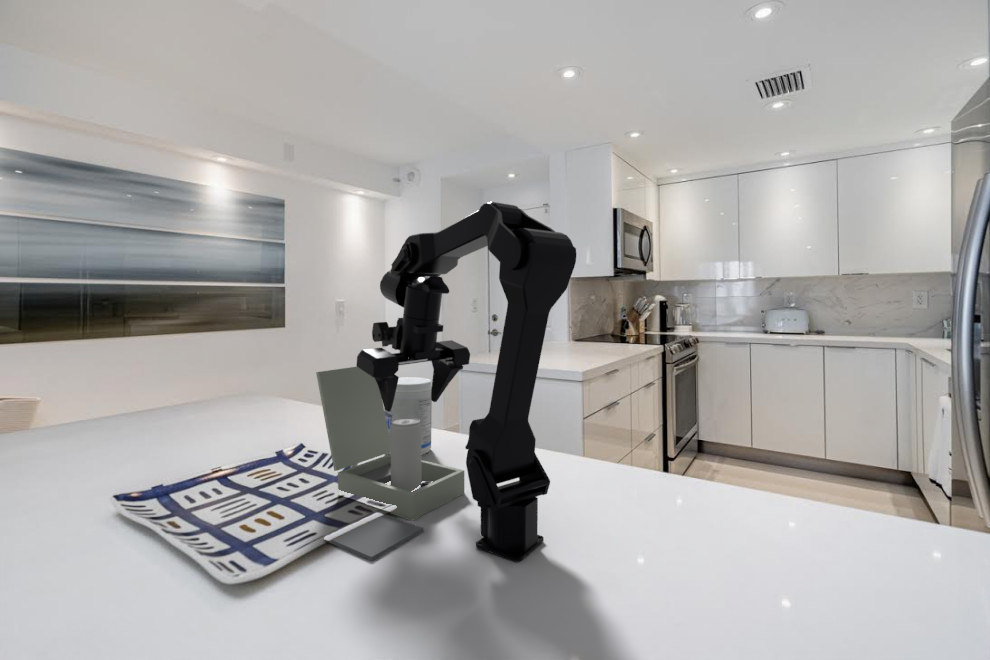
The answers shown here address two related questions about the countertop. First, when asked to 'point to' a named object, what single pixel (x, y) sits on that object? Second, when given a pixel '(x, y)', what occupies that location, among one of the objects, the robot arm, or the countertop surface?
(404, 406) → the supplement tub
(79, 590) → the countertop surface
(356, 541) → the pad
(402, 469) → the beverage can
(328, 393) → the lid
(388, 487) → the case
